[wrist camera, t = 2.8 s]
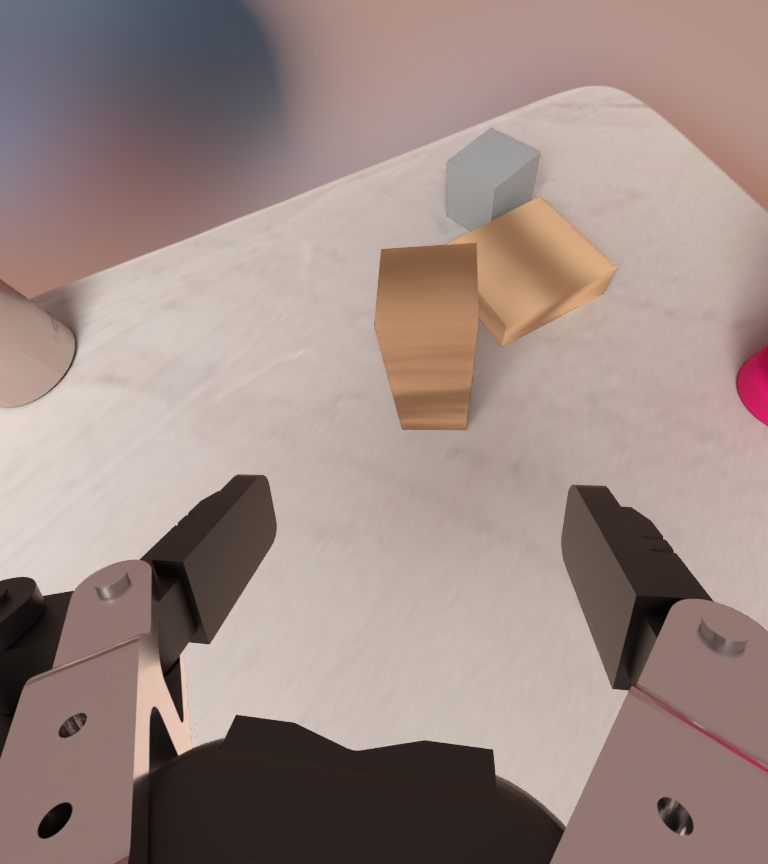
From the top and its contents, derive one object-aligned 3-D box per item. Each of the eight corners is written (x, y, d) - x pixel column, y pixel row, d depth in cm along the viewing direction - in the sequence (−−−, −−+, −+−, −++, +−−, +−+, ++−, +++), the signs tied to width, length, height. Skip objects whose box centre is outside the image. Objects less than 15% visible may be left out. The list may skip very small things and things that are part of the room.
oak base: (500, 350, 30) (506, 325, 27) (441, 274, 34) (441, 246, 31) (601, 297, 30) (617, 267, 28) (532, 228, 34) (540, 196, 31)
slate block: (488, 243, 34) (494, 188, 29) (446, 216, 36) (446, 161, 31) (528, 210, 35) (540, 152, 30) (485, 186, 36) (491, 127, 32)
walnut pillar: (466, 430, 28) (478, 322, 17) (402, 429, 28) (374, 326, 17) (465, 374, 29) (476, 242, 18) (405, 374, 30) (381, 249, 19)
